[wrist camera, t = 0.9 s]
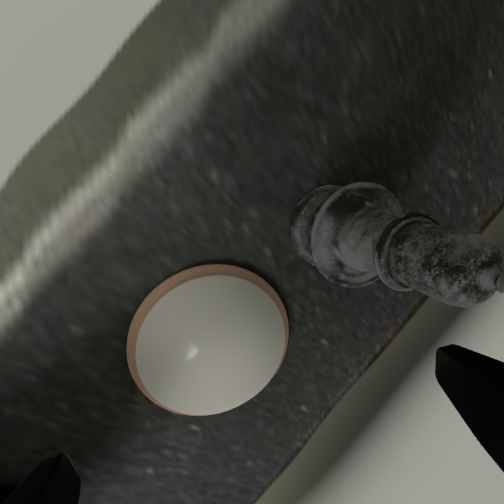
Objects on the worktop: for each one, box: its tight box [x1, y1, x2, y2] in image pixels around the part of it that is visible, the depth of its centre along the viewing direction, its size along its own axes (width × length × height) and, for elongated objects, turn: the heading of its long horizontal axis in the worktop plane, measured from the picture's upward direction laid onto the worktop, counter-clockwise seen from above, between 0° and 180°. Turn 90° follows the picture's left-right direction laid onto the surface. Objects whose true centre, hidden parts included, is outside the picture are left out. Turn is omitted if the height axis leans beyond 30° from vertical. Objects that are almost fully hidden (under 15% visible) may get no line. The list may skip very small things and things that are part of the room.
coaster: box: [126, 263, 289, 416], centre depth 21 cm, size 10×10×1 cm
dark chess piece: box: [290, 182, 504, 307], centre depth 16 cm, size 6×6×12 cm
